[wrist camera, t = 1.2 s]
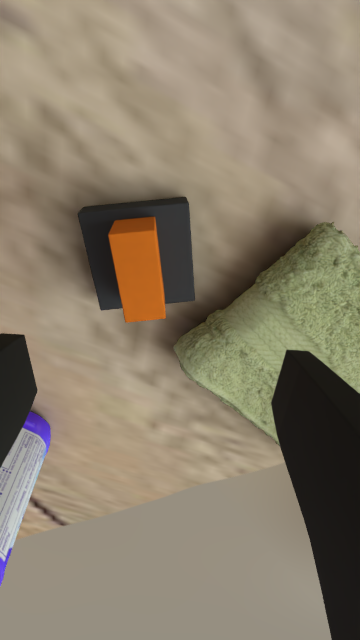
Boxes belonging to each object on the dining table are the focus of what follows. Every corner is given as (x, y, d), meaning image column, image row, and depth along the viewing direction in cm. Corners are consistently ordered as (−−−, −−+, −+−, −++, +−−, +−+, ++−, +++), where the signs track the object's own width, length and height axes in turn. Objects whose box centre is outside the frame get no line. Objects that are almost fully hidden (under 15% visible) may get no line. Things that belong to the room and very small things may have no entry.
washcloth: (302, 454, 28) (318, 488, 26) (160, 342, 21) (161, 374, 18) (445, 370, 24) (482, 400, 21) (329, 196, 17) (363, 209, 14)
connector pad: (104, 298, 19) (93, 335, 16) (83, 206, 16) (63, 226, 13) (192, 289, 19) (200, 323, 16) (186, 196, 17) (194, 213, 13)
